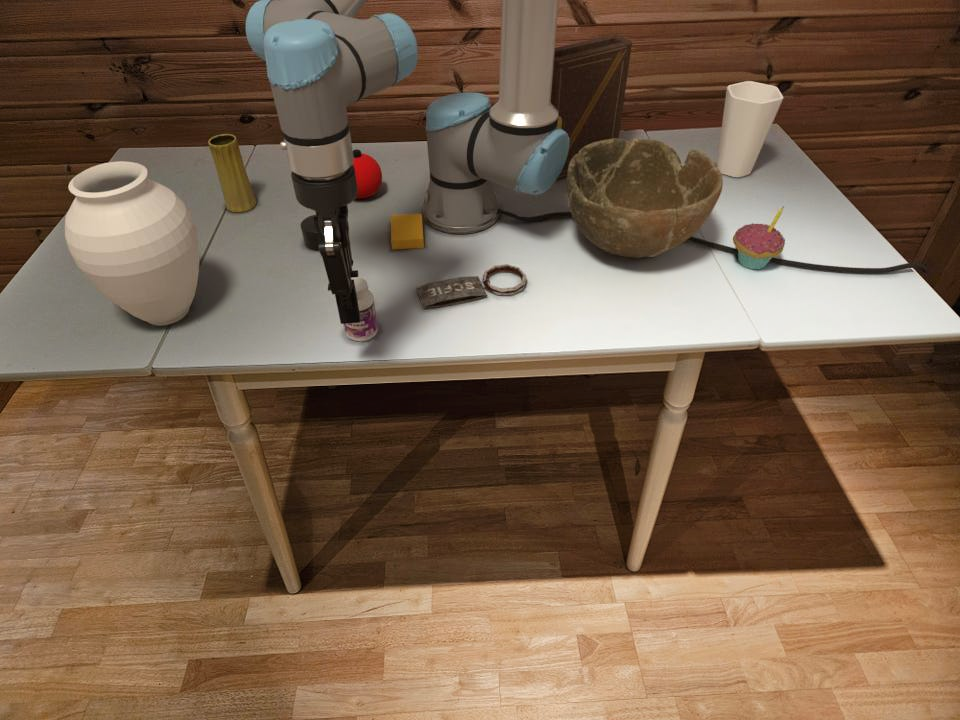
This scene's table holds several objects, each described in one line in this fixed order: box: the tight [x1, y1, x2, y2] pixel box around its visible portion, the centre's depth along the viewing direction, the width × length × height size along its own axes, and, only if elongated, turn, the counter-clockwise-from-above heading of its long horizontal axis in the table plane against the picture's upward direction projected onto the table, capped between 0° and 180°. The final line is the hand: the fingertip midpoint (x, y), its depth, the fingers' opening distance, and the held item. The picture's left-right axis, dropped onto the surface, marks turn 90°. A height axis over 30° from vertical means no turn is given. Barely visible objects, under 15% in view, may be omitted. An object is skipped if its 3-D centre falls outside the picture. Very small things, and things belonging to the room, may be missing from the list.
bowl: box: [566, 137, 724, 259], centre depth 119 cm, size 28×27×15 cm
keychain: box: [416, 263, 527, 309], centre depth 113 cm, size 8×19×2 cm, turn 106°
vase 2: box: [207, 133, 257, 214], centre depth 131 cm, size 6×6×14 cm
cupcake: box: [732, 205, 786, 270], centre depth 115 cm, size 9×8×12 cm
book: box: [551, 34, 633, 180], centre depth 137 cm, size 22×8×25 cm, turn 120°
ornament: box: [352, 148, 383, 199], centre depth 134 cm, size 9×9×10 cm
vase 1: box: [64, 161, 200, 327], centre depth 102 cm, size 18×18×25 cm
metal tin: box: [300, 214, 320, 252], centre depth 124 cm, size 6×6×4 cm
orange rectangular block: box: [390, 212, 425, 250], centre depth 126 cm, size 6×9×2 cm, turn 6°
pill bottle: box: [343, 276, 379, 342], centre depth 103 cm, size 5×5×10 cm
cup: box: [716, 80, 784, 178], centre depth 138 cm, size 11×10×17 cm
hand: (350, 319), depth 94 cm, fingers closed
